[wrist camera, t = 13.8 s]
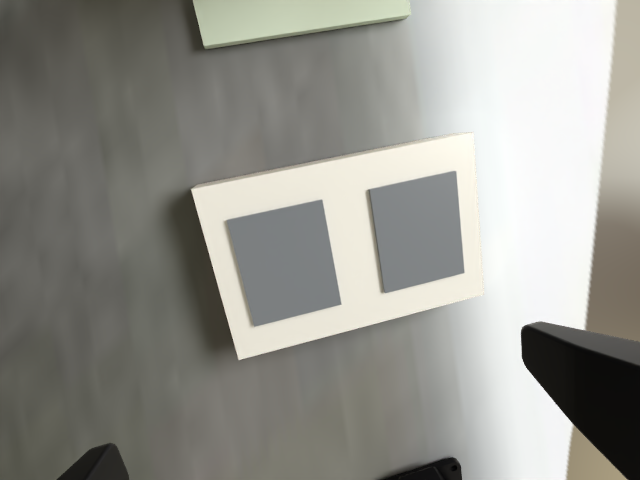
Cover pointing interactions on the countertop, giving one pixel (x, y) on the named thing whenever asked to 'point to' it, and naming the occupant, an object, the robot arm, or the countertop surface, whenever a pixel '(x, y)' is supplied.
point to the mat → (287, 17)
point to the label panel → (344, 241)
